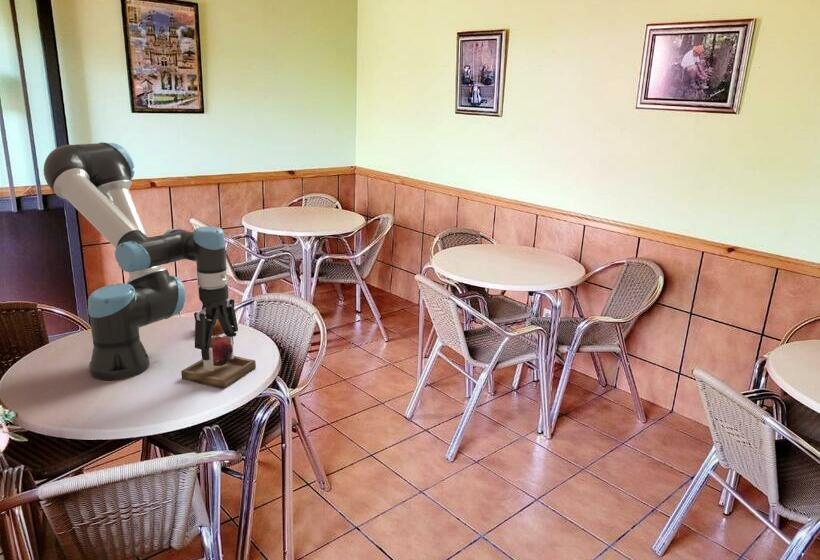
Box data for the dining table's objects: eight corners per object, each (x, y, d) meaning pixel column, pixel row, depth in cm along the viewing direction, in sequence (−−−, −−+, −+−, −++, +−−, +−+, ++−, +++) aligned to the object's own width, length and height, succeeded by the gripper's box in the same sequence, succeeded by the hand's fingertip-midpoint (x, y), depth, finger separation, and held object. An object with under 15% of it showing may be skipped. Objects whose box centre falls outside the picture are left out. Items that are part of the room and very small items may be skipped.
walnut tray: (181, 379, 163) (181, 370, 163) (215, 359, 176) (215, 351, 175) (224, 389, 158) (223, 380, 158) (255, 368, 171) (255, 360, 170)
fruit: (217, 357, 171) (215, 330, 169) (239, 362, 168) (237, 335, 166) (198, 367, 164) (196, 340, 162) (221, 372, 161) (219, 345, 159)
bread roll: (202, 336, 201) (189, 317, 198) (230, 321, 203) (218, 302, 200) (201, 348, 192) (188, 328, 189) (231, 332, 194) (218, 312, 191)
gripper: (197, 298, 149) (204, 381, 156) (248, 277, 167) (253, 352, 174) (174, 294, 152) (182, 376, 158) (226, 273, 170) (231, 347, 177)
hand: (219, 363), depth 166 cm, fingers closed on fruit, 8 cm apart
